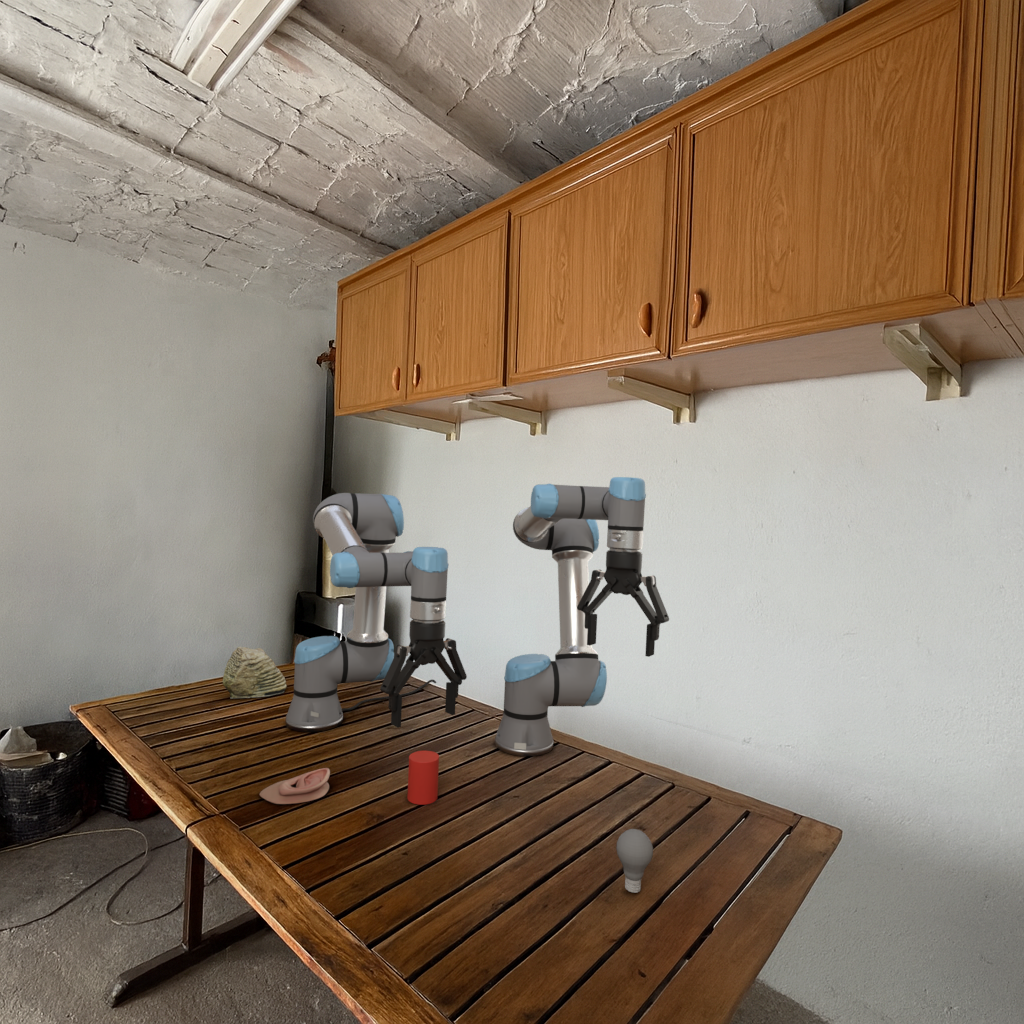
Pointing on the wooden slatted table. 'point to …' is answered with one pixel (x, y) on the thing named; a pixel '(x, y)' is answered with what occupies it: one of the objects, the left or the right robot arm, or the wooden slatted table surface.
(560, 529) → the right robot arm
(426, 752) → the cylinder
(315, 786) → the anatomical model
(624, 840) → the light bulb
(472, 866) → the wooden slatted table surface
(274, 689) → the fossil
